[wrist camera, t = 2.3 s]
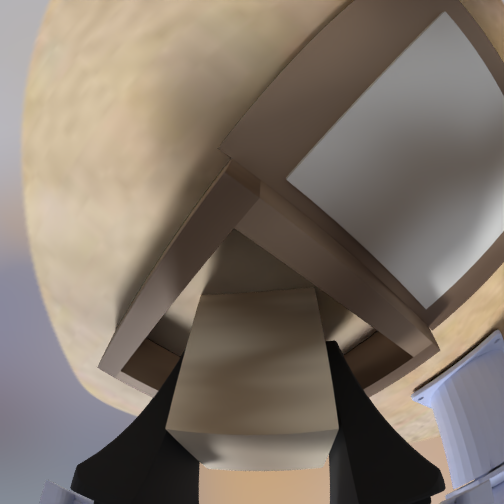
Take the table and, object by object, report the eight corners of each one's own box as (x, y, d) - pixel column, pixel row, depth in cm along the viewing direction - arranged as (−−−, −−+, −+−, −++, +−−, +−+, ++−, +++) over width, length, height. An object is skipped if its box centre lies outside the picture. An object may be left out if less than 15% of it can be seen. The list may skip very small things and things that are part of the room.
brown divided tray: (541, 186, 7) (572, 207, 5) (279, 409, 16) (279, 442, 14) (401, -36, 4) (433, -59, 2) (107, 326, 13) (88, 362, 11)
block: (314, 286, 11) (338, 428, 6) (311, 356, 13) (322, 467, 8) (201, 294, 11) (165, 428, 6) (222, 361, 14) (207, 468, 8)
